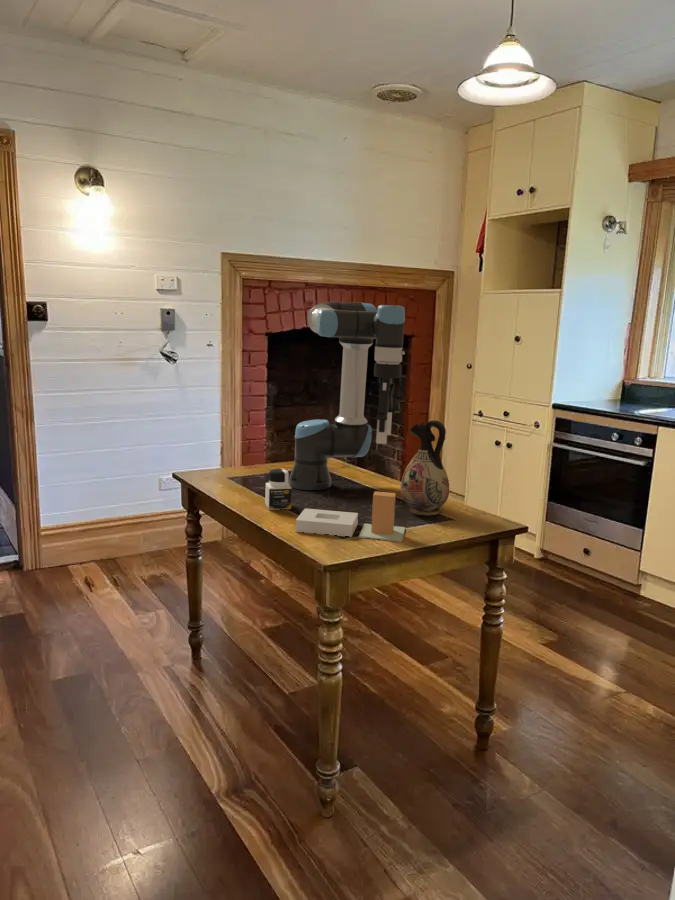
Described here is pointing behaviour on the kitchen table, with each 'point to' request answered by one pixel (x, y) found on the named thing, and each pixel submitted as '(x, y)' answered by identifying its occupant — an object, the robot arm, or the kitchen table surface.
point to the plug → (383, 512)
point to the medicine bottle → (278, 490)
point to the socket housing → (327, 522)
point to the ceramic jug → (426, 473)
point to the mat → (395, 536)
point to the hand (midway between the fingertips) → (383, 439)
